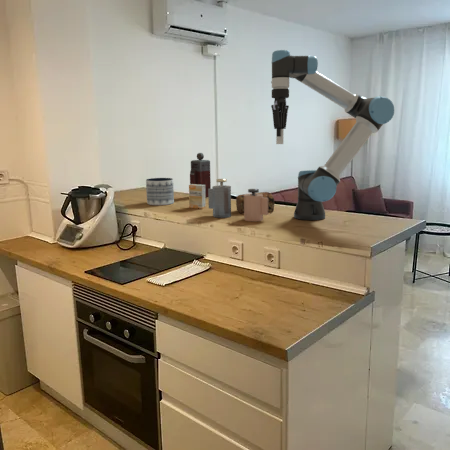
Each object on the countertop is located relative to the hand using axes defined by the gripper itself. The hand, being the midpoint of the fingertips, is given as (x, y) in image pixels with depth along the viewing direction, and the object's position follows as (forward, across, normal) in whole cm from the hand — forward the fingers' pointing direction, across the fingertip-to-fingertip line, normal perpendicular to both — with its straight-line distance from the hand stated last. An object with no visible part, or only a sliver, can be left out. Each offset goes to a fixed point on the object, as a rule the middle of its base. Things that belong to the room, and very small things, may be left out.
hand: (279, 144), depth 206 cm
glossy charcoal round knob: (+34, -5, -16) cm, 37 cm away
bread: (+37, -25, -26) cm, 51 cm away
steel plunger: (+31, -5, -34) cm, 46 cm away
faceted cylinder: (+36, -5, -36) cm, 51 cm away
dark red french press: (+37, -53, -81) cm, 103 cm away
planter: (+37, -22, -88) cm, 98 cm away
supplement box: (+37, -19, -59) cm, 72 cm away
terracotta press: (+36, -5, -14) cm, 39 cm away
